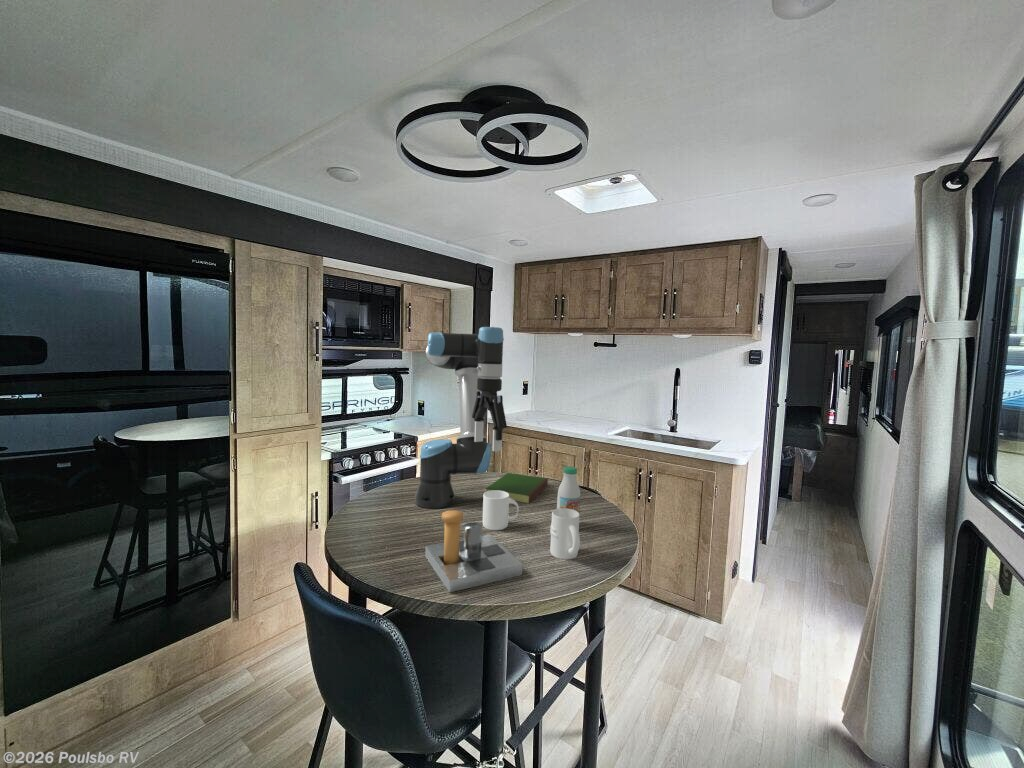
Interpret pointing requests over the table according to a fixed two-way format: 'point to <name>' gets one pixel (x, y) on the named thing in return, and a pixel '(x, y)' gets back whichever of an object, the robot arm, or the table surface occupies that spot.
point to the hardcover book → (520, 486)
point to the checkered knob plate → (474, 561)
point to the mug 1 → (497, 510)
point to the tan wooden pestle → (451, 536)
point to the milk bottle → (569, 490)
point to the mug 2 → (565, 533)
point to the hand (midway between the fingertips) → (487, 445)
